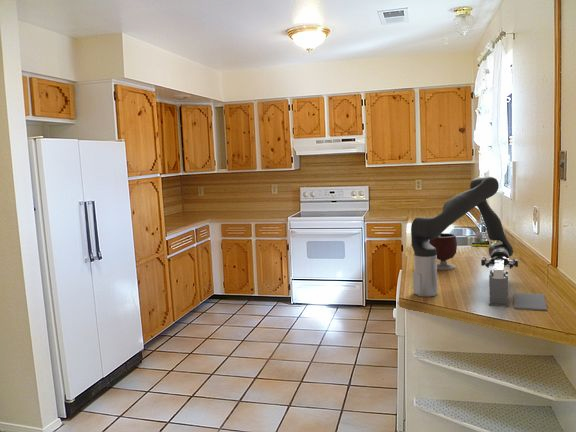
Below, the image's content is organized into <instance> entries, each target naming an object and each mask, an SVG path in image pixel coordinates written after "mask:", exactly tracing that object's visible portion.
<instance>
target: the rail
mask: <svg viewBox="0 0 576 432" xmlns="http://www.w3.org/2000/svg"><path fill="white" fill-rule="evenodd" d="M492 272H493V279H503V277H504V273H505V267H504V260H495V262H494V266H493V269H492Z"/></svg>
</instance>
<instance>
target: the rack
mask: <svg viewBox="0 0 576 432" xmlns="http://www.w3.org/2000/svg"><path fill="white" fill-rule="evenodd" d="M488 280H489V283H488V284H489V285H488V286H489V291H488V293H489V295H488V296H489V299H488V300H489V302H488V306H489V307H490V306H491V307H502V306H505V308H510V307H509V303H510V301H509V300H510V297H509V270H508V269H507V270H505V272H504V277H503V279H493V269H489V275H488Z"/></svg>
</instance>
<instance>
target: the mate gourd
mask: <svg viewBox="0 0 576 432" xmlns="http://www.w3.org/2000/svg"><path fill="white" fill-rule="evenodd" d="M428 241H429V243H430V244H431V245H432V246H433V247H435V248H436V251H437V260H439V261H440V262H439V263H437V270H443V271H444V270H445V271H446V270H447V271H449V270H454V269H456V267H457V266H456V264H453V263H448V262H447V261H448V260H450V259H452V258H454V257H455V255H456V254H457V248H458V241H457V237H456V234H454V233H448V232H447V233H445V232H444V233H443V232H442V233H441V234H440V235H439V236H438V237H437V238H435V239H432V240H428Z"/></svg>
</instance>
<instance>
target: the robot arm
mask: <svg viewBox="0 0 576 432" xmlns="http://www.w3.org/2000/svg"><path fill="white" fill-rule="evenodd" d="M499 187H500V186H499V182H498V180H497V178H495V177H493V176H483V177H476V178H474V179H472V180H471V182H470V185H469V189H468V190H465V191H463V192H461V193H458V194H456V195H453V196H452V197H451V198H449V199H448V200H447V201H445V203H444V204H443V207H442V211H441V212H440V213H439V214H437V215H436V216H434V217H423V216H422V217H421V216H418V217H415V218H414V219H413V220H412V222H411V225H410V235H411V246H412V249H413V256H414V259H413V260H414V271H413V272H412V280H413V281H412V284H413V285H412V287H413V288H412V289H413V294H414V295H417V296H418V297H426V298H427V297H436V296H438V294H439V292H438V269H437V264H438V263H437V261H438V259H437V251H436V248H435V247H433V246H432V245H431V244H430V243H429V241H430V240H432V239H435V238H437V237H438V236H439V235H440V234H441V233H443V232H444V231H445V230H447V229H448V227H450V226H451V225H452V224H455V222H457V220H459V219H460V218H462V217H463V216H466V214H467V213H469V212H470V211H472V210H473V209H474V208H476V207H477V209H478V210H479V213H480V214H481V217H482V220H483V222H484V225H485V230H486V233H487V236H488V239H489V240H490V241H499V242H500V243H495V244H491V245H490V246H489V247H488V254H489V257H490V258H486V257H485V256H483V257H482V258H481V259H480V263H481V264H480V265H481V267H483V266H485V267H486V268H490V267H494V262H495V260H504V268H509V269H512V268H514V267H515V268H518V267H519V260H518V258H517V257H514V258H513V259H511V258H512V256H513V254H514V249H513V246H512V244H511V243H510V241H509V240H508V239H507V236H506V234H505V231H504V228H503V224H502V221H501V219H500V217H499V216H498V215H497V213H496V212H495V211H494V209H492V208H491V206H490V205H489V202H488V200H487V199H490V198H491V197H493V196H494V195H496V194H497V192H498V191H499ZM510 257H511V258H510Z"/></svg>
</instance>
